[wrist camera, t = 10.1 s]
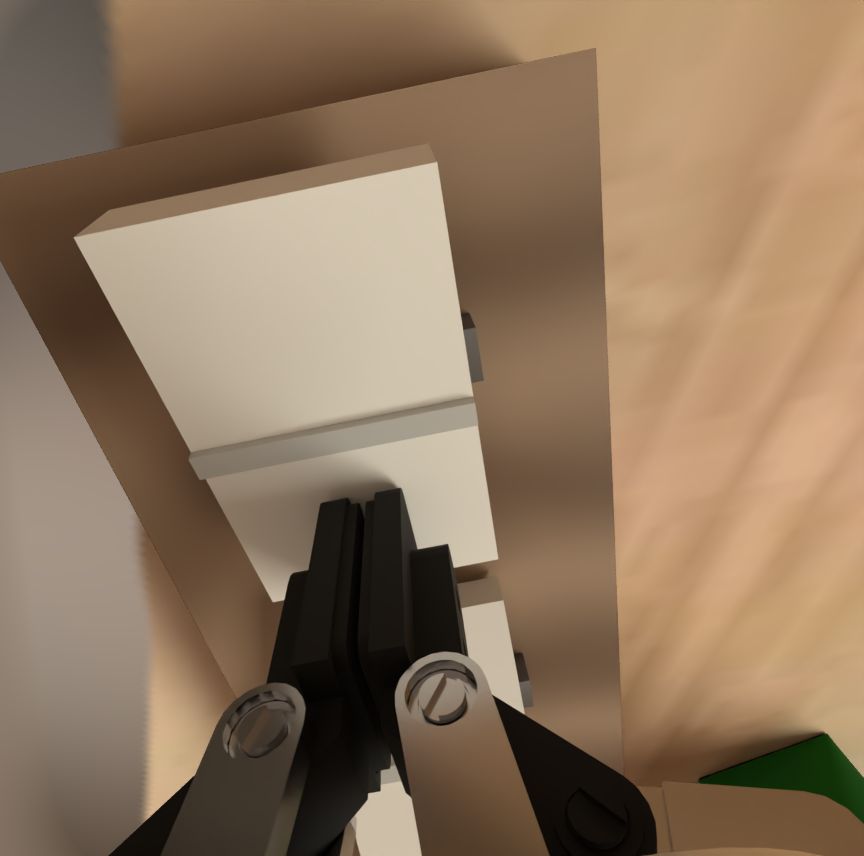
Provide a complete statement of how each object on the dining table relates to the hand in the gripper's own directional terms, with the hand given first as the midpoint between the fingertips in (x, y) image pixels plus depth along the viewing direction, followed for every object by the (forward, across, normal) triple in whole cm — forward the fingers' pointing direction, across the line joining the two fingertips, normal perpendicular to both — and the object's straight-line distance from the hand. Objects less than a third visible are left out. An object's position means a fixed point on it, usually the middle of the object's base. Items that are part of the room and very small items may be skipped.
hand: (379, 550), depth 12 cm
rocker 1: (+2, 0, -3) cm, 3 cm away
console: (+8, 0, +8) cm, 11 cm away
